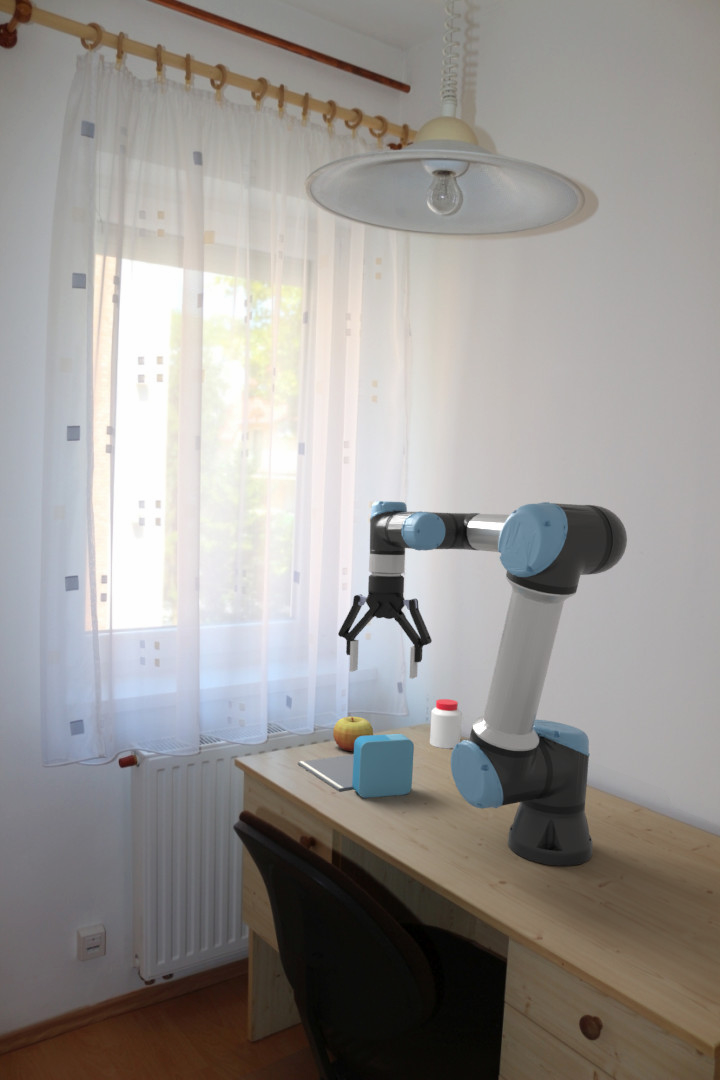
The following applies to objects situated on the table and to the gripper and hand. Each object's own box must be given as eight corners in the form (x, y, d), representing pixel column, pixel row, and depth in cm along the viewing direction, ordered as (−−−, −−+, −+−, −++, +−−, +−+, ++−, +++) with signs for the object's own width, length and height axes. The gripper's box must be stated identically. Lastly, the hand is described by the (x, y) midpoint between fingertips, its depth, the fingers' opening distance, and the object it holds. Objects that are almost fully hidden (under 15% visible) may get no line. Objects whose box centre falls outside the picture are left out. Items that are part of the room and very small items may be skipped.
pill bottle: (428, 747, 218) (430, 704, 217) (430, 738, 225) (433, 696, 224) (459, 750, 216) (461, 706, 216) (460, 741, 224) (462, 699, 223)
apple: (331, 753, 208) (333, 721, 208) (332, 741, 218) (334, 710, 218) (372, 755, 209) (374, 723, 208) (371, 743, 218) (373, 712, 218)
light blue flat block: (403, 787, 188) (406, 733, 187) (411, 794, 183) (414, 739, 183) (351, 791, 184) (354, 735, 183) (358, 798, 179) (361, 742, 179)
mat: (408, 779, 192) (408, 776, 192) (338, 791, 183) (338, 788, 183) (363, 754, 209) (364, 752, 209) (297, 764, 199) (297, 761, 199)
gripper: (448, 576, 181) (444, 677, 182) (339, 569, 190) (336, 665, 191) (437, 579, 174) (433, 683, 175) (325, 571, 183) (322, 670, 184)
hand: (382, 674), depth 183 cm, fingers open, 13 cm apart
